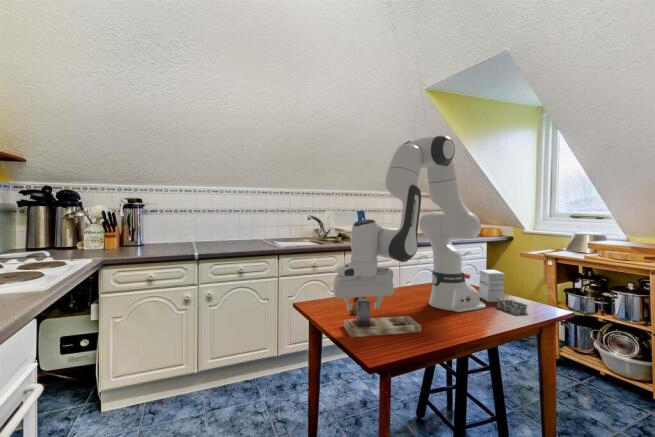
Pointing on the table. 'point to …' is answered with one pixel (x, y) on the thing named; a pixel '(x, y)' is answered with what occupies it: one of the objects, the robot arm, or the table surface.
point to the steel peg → (363, 313)
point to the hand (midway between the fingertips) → (363, 309)
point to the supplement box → (491, 285)
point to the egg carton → (512, 306)
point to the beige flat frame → (382, 326)
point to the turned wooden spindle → (356, 306)
